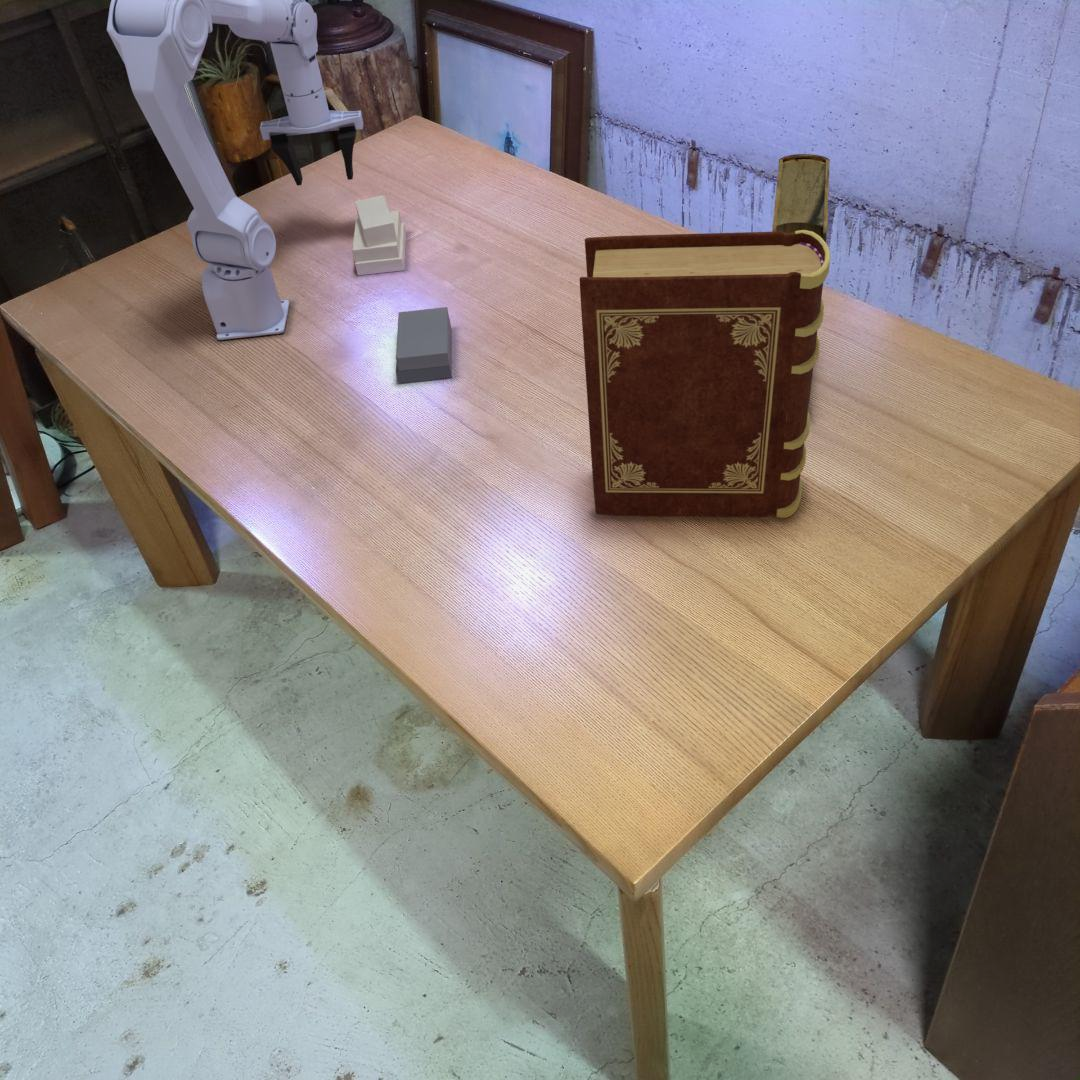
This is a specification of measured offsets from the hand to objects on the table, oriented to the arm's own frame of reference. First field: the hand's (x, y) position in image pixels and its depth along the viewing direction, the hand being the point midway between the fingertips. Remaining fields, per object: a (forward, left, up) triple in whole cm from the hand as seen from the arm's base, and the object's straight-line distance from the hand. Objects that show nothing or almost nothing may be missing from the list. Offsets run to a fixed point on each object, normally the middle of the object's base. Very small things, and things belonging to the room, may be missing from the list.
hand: (325, 179), depth 158 cm
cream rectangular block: (+7, -6, -6) cm, 11 cm away
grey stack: (+14, -34, -10) cm, 38 cm away
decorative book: (+45, -66, -10) cm, 81 cm away
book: (+59, -47, -10) cm, 76 cm away
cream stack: (+7, -6, -10) cm, 14 cm away
